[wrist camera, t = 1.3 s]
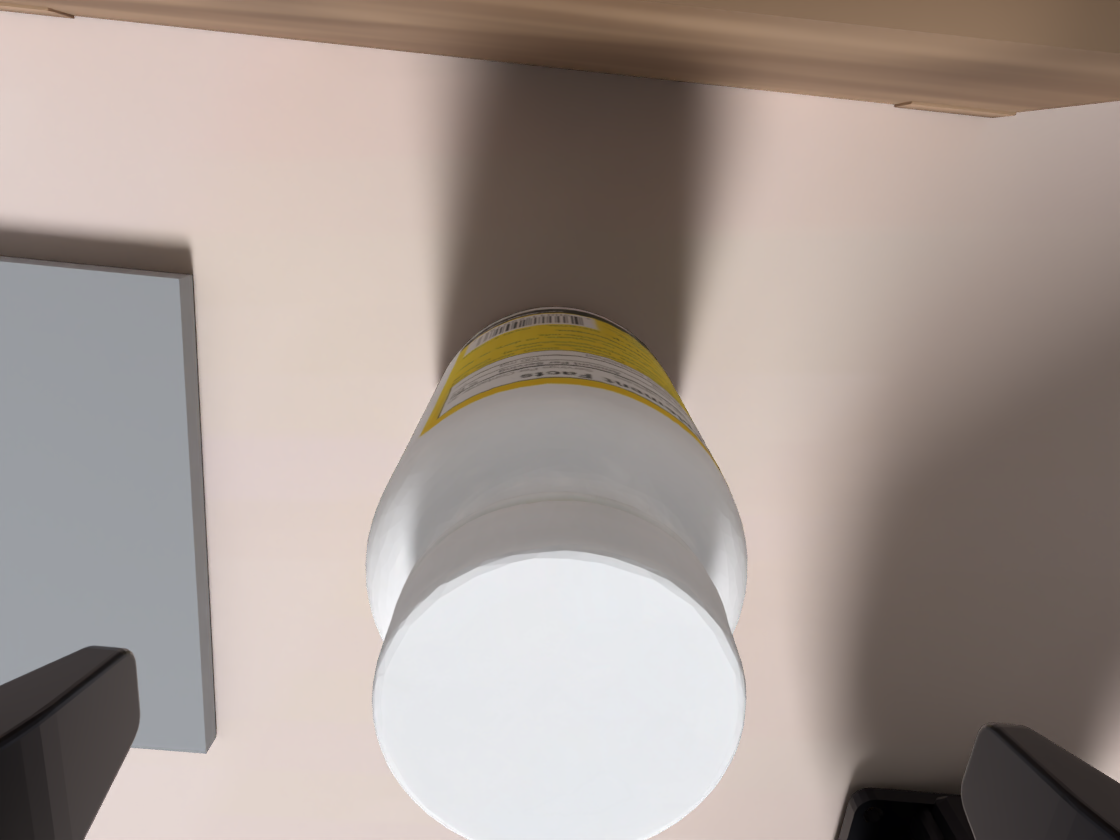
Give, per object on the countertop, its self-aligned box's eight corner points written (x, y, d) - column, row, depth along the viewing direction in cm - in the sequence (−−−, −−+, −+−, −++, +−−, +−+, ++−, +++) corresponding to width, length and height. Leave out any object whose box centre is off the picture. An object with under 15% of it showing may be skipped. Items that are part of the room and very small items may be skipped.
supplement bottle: (578, 571, 19) (595, 980, 9) (390, 442, 17) (196, 757, 8) (727, 399, 17) (923, 677, 8) (531, 249, 16) (492, 364, 7)
